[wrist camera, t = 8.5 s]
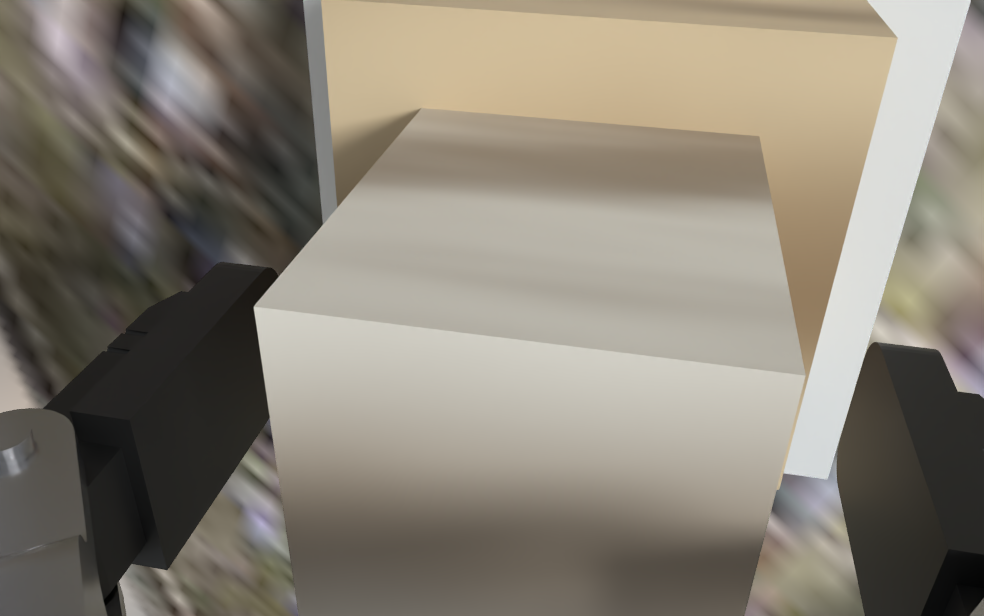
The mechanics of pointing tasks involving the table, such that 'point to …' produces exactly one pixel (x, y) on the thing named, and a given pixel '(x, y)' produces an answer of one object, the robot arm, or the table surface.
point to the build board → (874, 220)
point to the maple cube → (534, 374)
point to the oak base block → (636, 92)
